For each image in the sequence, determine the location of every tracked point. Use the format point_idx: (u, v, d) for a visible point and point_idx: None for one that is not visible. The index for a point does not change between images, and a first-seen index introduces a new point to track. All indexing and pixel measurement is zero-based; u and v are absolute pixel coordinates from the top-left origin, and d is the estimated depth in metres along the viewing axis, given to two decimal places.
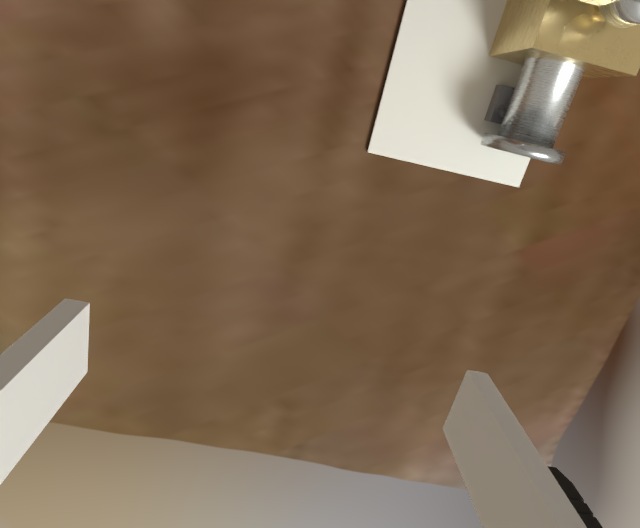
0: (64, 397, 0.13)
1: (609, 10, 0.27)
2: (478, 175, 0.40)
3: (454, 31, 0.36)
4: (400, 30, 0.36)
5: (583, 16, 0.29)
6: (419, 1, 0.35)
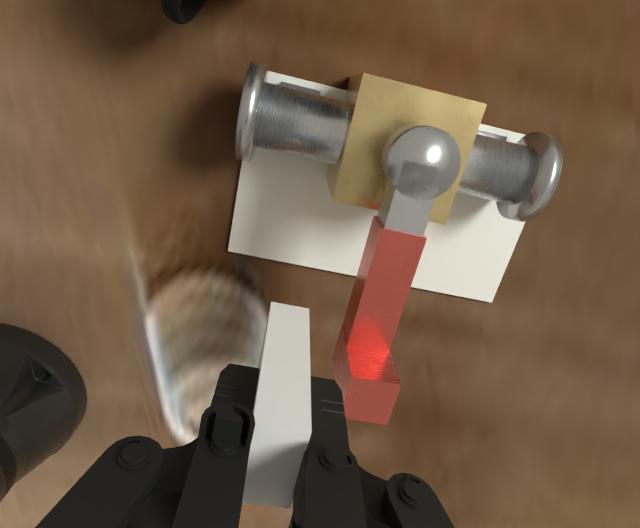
0: None
1: None
2: None
3: None
4: None
5: None
6: None
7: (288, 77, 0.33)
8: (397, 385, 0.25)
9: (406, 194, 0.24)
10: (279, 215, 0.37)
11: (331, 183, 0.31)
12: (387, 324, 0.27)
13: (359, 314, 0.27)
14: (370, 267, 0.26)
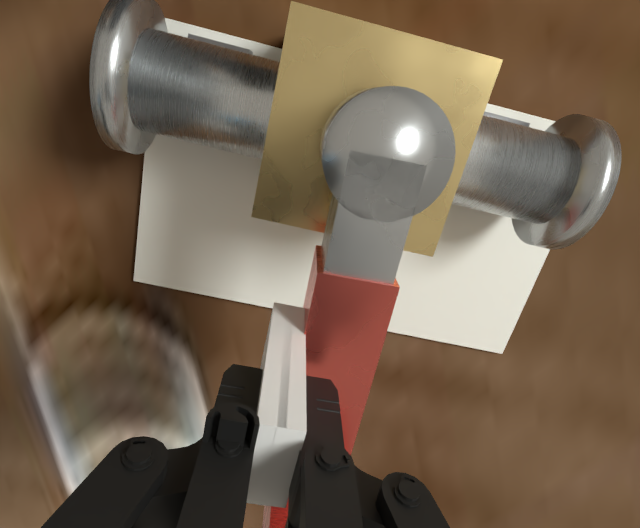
0: None
1: None
2: None
3: None
4: None
5: None
6: None
7: (204, 30, 0.22)
8: None
9: (358, 212, 0.13)
10: (203, 232, 0.26)
11: None
12: (342, 426, 0.16)
13: None
14: None
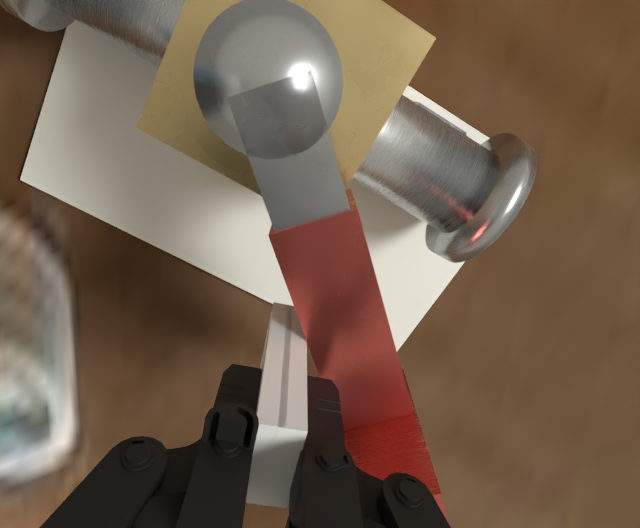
0: None
1: None
2: None
3: None
4: (256, 294, 0.27)
5: None
6: (228, 266, 0.26)
7: None
8: (434, 497, 0.13)
9: (272, 155, 0.12)
10: (109, 148, 0.24)
11: None
12: (384, 375, 0.15)
13: None
14: (295, 304, 0.14)
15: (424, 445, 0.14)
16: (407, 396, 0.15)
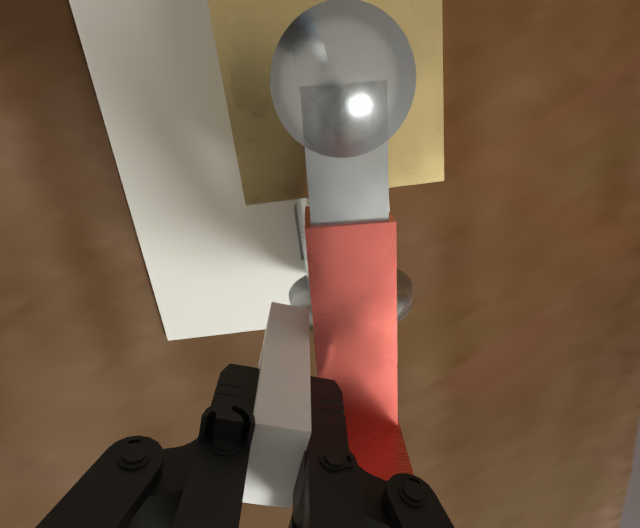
0: None
1: None
2: None
3: (198, 161, 0.24)
4: (125, 187, 0.24)
5: None
6: (128, 143, 0.24)
7: None
8: None
9: (329, 152, 0.12)
10: None
11: None
12: (379, 386, 0.15)
13: None
14: (312, 301, 0.14)
15: (407, 460, 0.15)
16: (396, 410, 0.16)
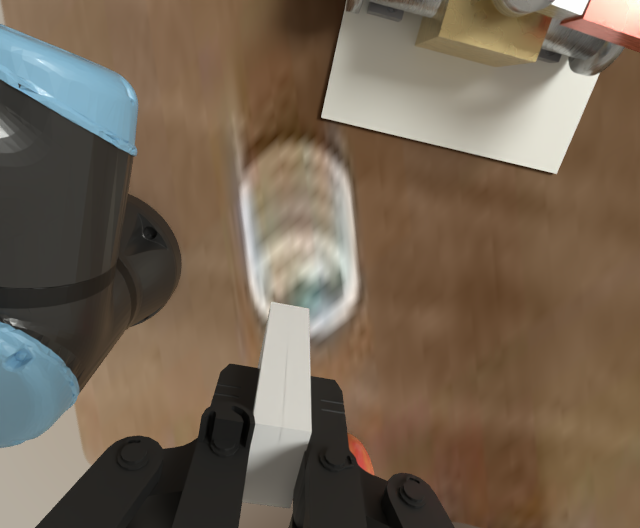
0: None
1: None
2: None
3: (471, 103, 0.42)
4: (464, 151, 0.43)
5: None
6: (446, 136, 0.43)
7: None
8: None
9: None
10: (370, 81, 0.41)
11: (430, 32, 0.35)
12: None
13: None
14: (616, 29, 0.29)
15: None
16: None
